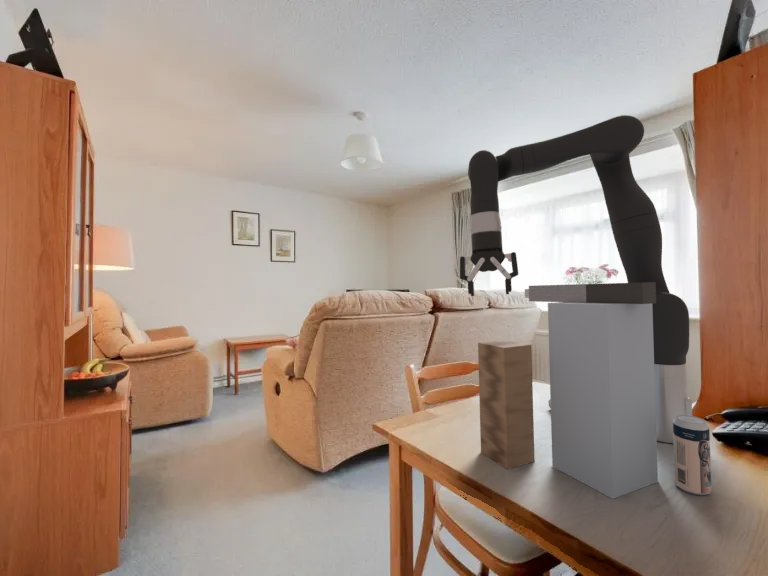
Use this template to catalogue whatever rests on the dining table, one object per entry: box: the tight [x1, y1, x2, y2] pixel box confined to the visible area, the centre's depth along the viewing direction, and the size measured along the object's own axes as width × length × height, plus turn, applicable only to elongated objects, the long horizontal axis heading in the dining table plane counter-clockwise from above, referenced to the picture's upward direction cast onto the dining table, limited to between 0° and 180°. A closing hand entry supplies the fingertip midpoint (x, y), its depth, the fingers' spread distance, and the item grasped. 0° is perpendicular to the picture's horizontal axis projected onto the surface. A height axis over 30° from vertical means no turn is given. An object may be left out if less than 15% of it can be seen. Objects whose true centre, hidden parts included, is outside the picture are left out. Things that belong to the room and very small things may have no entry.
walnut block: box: [477, 339, 536, 470], centre depth 74 cm, size 8×7×24 cm
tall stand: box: [547, 302, 659, 500], centre depth 66 cm, size 12×12×32 cm
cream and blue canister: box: [672, 415, 712, 496], centre depth 61 cm, size 5×5×12 cm
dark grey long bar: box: [524, 282, 656, 304], centre depth 70 cm, size 26×4×4 cm, turn 23°
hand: (489, 295), depth 91 cm, fingers open, 8 cm apart
